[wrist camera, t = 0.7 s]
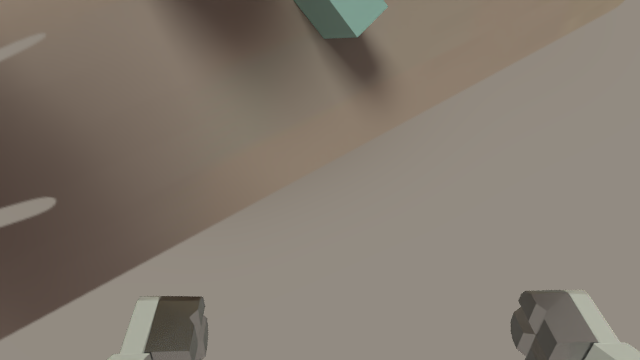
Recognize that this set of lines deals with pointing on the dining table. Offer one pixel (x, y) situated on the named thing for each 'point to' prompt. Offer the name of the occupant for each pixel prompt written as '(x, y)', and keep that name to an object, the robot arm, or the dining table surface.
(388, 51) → the dining table surface
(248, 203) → the dining table surface
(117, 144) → the dining table surface
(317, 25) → the teal block
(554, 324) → the robot arm
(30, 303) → the dining table surface
